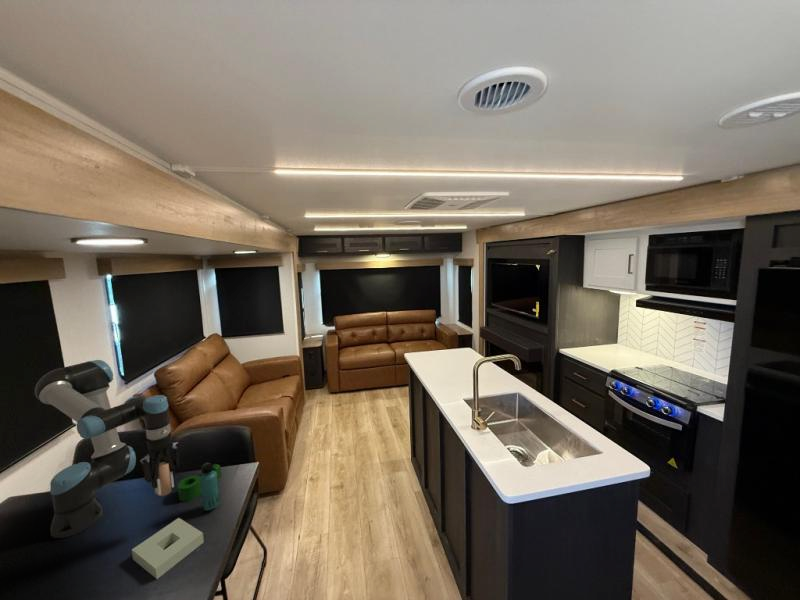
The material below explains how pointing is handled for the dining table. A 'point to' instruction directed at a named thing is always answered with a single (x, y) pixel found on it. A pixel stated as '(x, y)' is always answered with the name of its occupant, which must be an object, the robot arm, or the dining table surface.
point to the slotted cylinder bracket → (193, 485)
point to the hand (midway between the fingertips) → (164, 489)
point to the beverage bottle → (209, 487)
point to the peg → (164, 478)
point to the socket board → (162, 560)
